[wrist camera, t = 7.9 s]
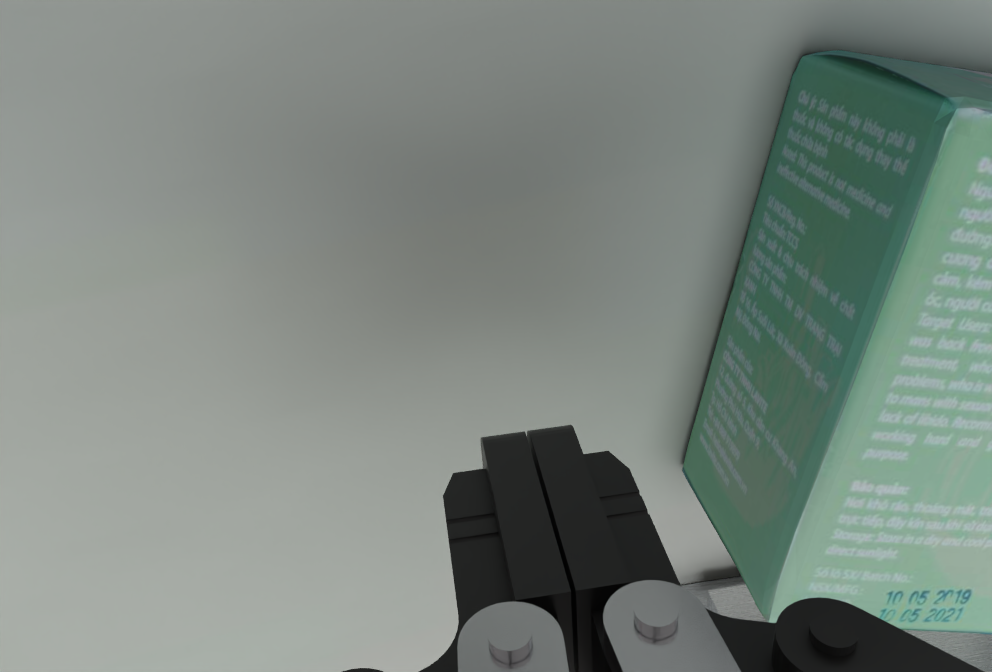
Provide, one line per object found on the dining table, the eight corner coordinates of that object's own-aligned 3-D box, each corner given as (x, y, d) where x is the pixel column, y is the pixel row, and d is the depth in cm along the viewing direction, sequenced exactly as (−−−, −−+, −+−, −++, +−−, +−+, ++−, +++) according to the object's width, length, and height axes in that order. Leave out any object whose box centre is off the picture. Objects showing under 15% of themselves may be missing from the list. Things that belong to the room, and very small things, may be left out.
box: (1045, 70, 24) (1301, 141, 17) (877, 474, 30) (1018, 643, 23) (797, 32, 22) (969, 94, 16) (673, 462, 28) (760, 637, 22)
